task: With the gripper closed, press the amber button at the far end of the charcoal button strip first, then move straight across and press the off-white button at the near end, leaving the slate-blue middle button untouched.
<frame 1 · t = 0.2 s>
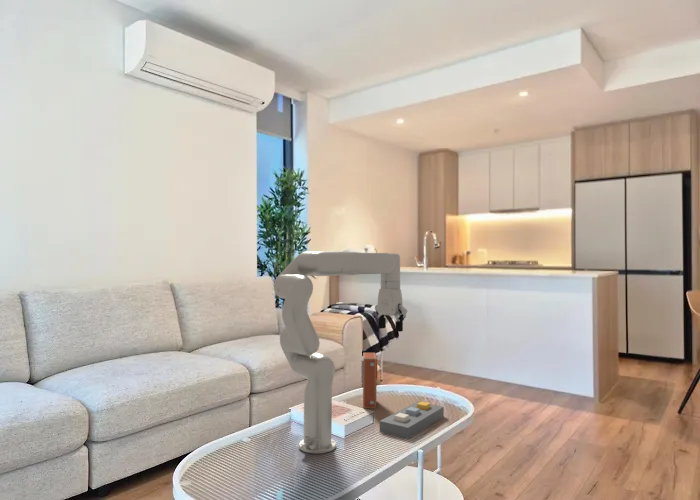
hand: (390, 329, 186), 37 cm above the table, tool pointing down, fingers open, 9 cm apart
amber button: (423, 407, 196), point 4 cm above the table, slide at 0.0 cm
terracotta rectangular block: (368, 404, 213), on the table
button strip: (413, 423, 188), on the table
white button: (401, 419, 181), point 4 cm above the table, slide at 0.0 cm
slate button: (413, 413, 188), point 4 cm above the table, slide at 0.0 cm
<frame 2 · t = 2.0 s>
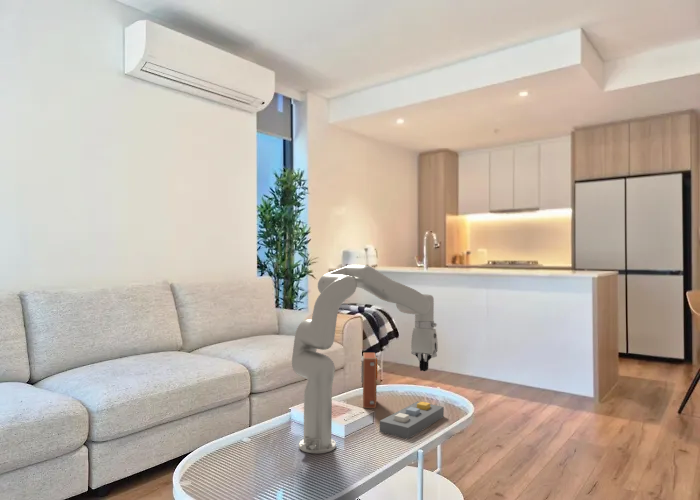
hand: (423, 370, 196), 19 cm above the table, tool pointing down, fingers closed
nothing on the table moved.
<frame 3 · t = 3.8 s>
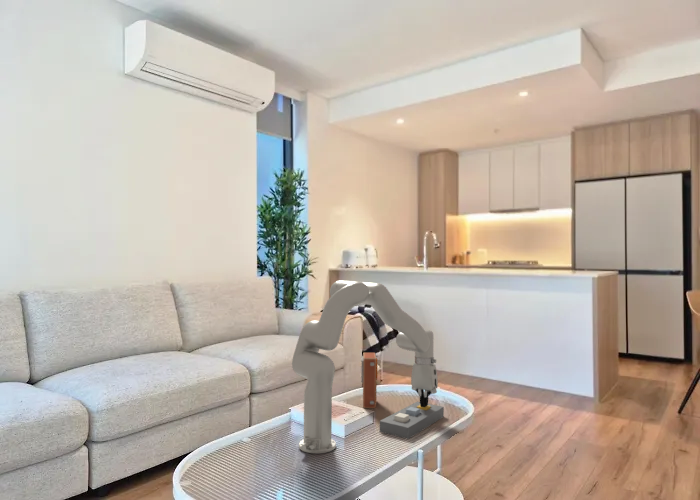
hand: (424, 406, 196), 5 cm above the table, tool pointing down, fingers closed
amber button: (423, 409, 196), point 3 cm above the table, slide at 1.1 cm, touching gripper
everything else where it was.
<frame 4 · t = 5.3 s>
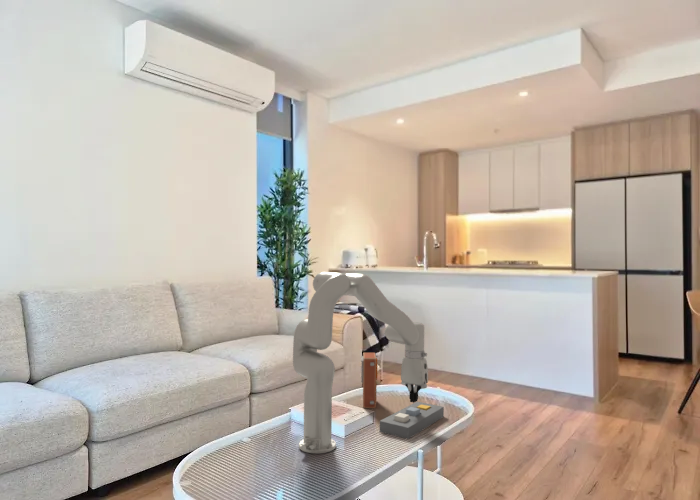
hand: (413, 401, 189), 9 cm above the table, tool pointing down, fingers closed
amber button: (423, 410, 196), point 3 cm above the table, slide at 1.2 cm
everything else where it was.
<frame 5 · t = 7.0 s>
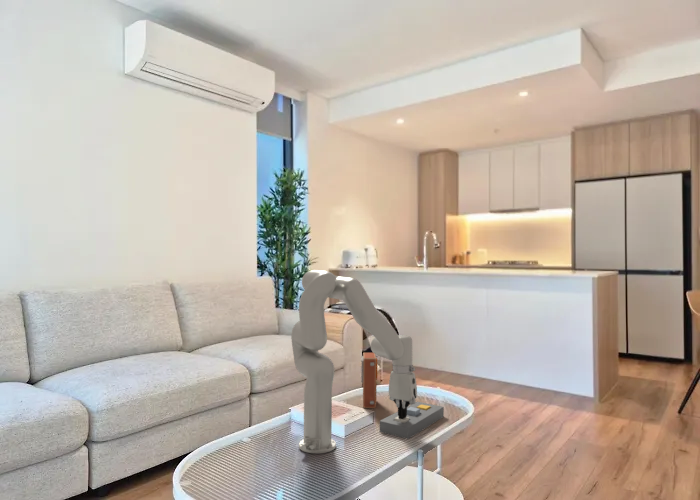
hand: (402, 417, 181), 5 cm above the table, tool pointing down, fingers closed
white button: (401, 421, 181), point 3 cm above the table, slide at 1.0 cm, touching gripper
everything else where it was.
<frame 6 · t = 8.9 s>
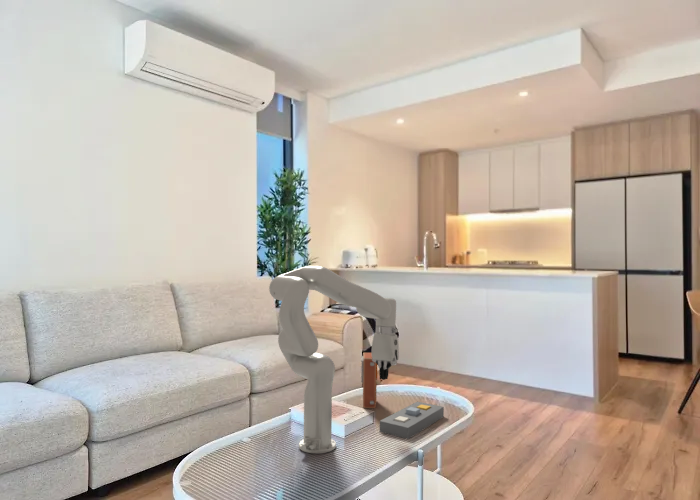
hand: (383, 378, 184), 18 cm above the table, tool pointing down, fingers closed
white button: (401, 422, 181), point 3 cm above the table, slide at 1.2 cm
everything else where it was.
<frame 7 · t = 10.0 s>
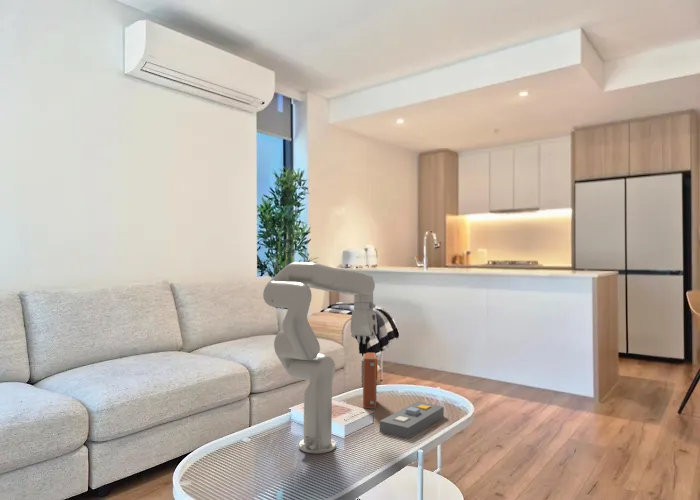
hand: (363, 353, 190), 27 cm above the table, tool pointing down, fingers closed
nothing on the table moved.
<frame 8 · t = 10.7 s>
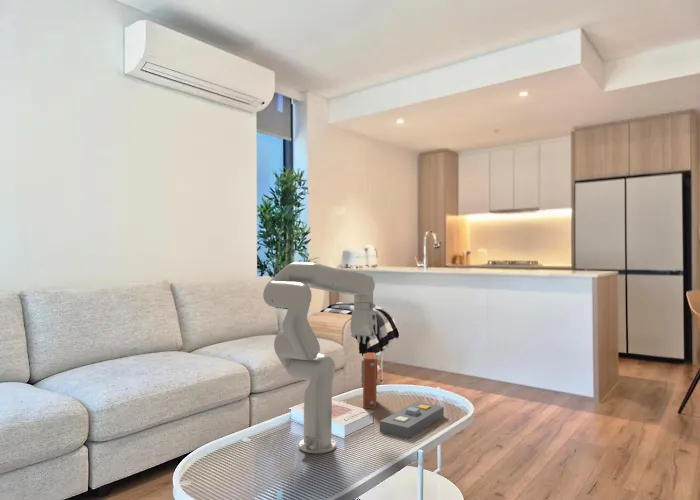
hand: (363, 353, 190), 27 cm above the table, tool pointing down, fingers closed
nothing on the table moved.
at the end: amber button slide at 1.2 cm; white button slide at 1.2 cm; slate button slide at 0.0 cm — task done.
